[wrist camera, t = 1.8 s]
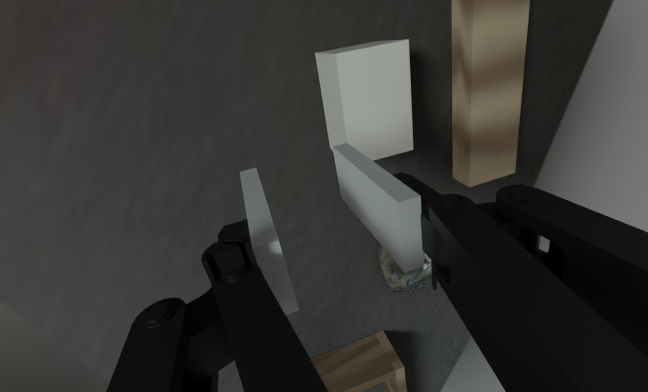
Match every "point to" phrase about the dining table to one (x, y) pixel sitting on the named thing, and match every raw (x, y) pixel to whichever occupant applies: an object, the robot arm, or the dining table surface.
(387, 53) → the block
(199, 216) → the dining table surface
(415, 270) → the crumpled grey lump
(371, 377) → the wooden serving tray
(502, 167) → the batten
